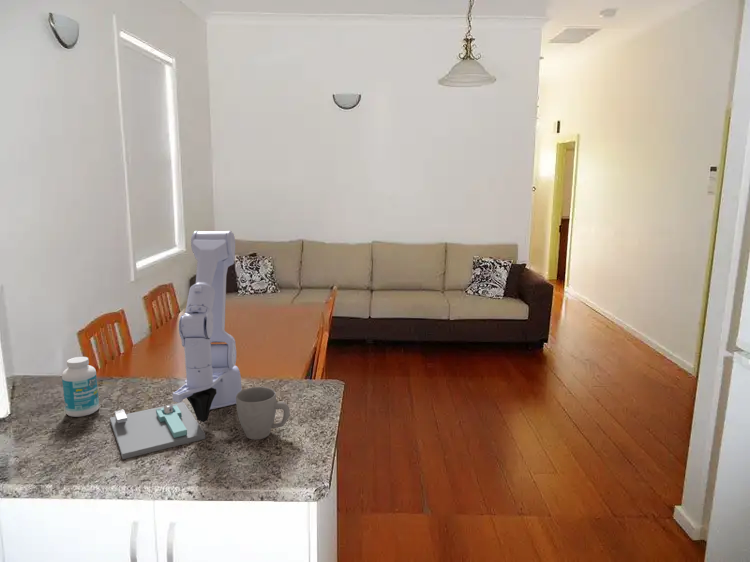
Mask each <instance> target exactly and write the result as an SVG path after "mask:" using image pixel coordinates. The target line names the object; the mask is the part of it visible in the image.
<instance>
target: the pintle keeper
mask: <svg viewBox="0 0 750 562" xmlns="http://www.w3.org/2000/svg"><path fill="white" fill-rule="evenodd" d="M163 406H164V414H169V413H173V405H171V404H166V405H163ZM126 414H127V413H126V411H125V410H124V408H122V409H119V410H114V417H115V422H116V424H121V423H125V422H126V421H127V416H126Z"/></svg>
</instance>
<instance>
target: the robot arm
mask: <svg viewBox="0 0 750 562" xmlns="http://www.w3.org/2000/svg"><path fill="white" fill-rule="evenodd" d="M190 238H191V239H190V247H191V251H192V253H193V256H194V259H196V261H197V262H196V273H195V274H196V276H195V283H194V284H192V285H191V286H190V287H189V290H188V295H187V302H186V306H185V310H184V311H185V312H184V314H183V315H181V316H180V318H179V321H178V334H179V338H180V340H181V346H182V347H183V348H184V362H185V363H184V364H185V373H186V374H185V375H186V376H185V378H186V379H185V380H184V384H183V385H182V386H181V387H179V388H178V389H177V390H176V391H173V392H172V402H176V403H180V402H184V400H187V401H188V402H189V404H190V405H191V407H192V410H193V411H194V413H195V416H196V421H197V422H198V421H199V422H203V423H205V422H206V421H208V420H209V416H210V411H211V410H214V409H215V410H216V409H218V408H224V407H228V406H233V405H236V395H237V394H238V393H239V392H240V391H242V390H243V388H242V376H241V375H242V374H241V371H240V369H239V367H238V366H237V365H236V362H237V348H236V340H235V339H236V338H235V337H234V336H233V335H231V334H230V333H228V332H227V331H226V330H225V329H226V302H227V301H226V300H227V299H226V298H227V297H226V296H227V294H226V293H227V274H228V268H229V267H230V266H233V265H234V264H235V260H236V238H235V234H234V232H232V230H225V231H224V230H223V231H222V230H219V231H217V230H214V231H212V230H208V231H205V230H203V231H202V230H201V231H200V230H195V231H194V232H193V233H192V235H191V237H190Z"/></svg>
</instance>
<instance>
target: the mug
mask: <svg viewBox="0 0 750 562" xmlns="http://www.w3.org/2000/svg"><path fill="white" fill-rule="evenodd" d="M235 405H236V412H237V413H236V414H237V418H238V420H239V423H240V426H241V428H242V430H243V431H244V434H245V436H246V438H248V439H250V440H262V439H266V438H267V437H268V436H270V433H271V430H272V429H278V428H282V427H284V426H285V425H286V423H287V421H288V420H289V418H290V415H291V411H290V406H289V405H288V404H287V402H285V401H278V400H277V393H276V391H275V389H272V388H270V387H266V386H254V387H253V386H252V387H249V388H248V387H247V388H245V389H242V391H240V392H239V393H238V394H237V395H236V404H235ZM277 410H283V415H282V419H281V421H279V422H277V423H275V420H276V419H275V418H276V411H277Z"/></svg>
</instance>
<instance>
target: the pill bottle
mask: <svg viewBox="0 0 750 562" xmlns="http://www.w3.org/2000/svg"><path fill="white" fill-rule="evenodd" d="M89 364H90V360H89V357H87V356H75V357H72V358H69V359H67V361H66V366H67V368H65V369H64V370H63V372H62V373H61V380H62V381H61V382H62V390H63V397H64V398H63V400H64V408H65V414H67V415H68V416H69V417H75V418H79V417H85V416H89V415H92V414H94V413H96V412H97V411H98V410H99V408H100V401H99V391H98V390H99V388H98V379H97V371H96V368H95V367H94V366H92V365H89ZM67 415H66V416H67Z"/></svg>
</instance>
